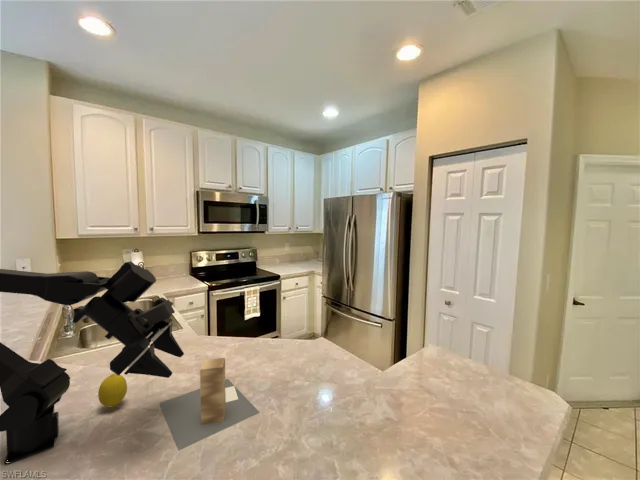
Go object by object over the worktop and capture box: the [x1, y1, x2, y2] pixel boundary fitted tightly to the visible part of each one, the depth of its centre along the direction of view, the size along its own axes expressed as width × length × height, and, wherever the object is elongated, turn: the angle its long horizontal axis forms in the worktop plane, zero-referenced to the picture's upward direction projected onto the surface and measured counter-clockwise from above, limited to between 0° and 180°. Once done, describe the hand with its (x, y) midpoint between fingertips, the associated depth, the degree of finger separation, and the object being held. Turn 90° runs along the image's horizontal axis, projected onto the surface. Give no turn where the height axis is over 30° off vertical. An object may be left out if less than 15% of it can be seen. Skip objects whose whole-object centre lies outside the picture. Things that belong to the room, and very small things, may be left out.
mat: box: [158, 378, 260, 451], centre depth 65 cm, size 17×19×1 cm
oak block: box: [199, 357, 226, 425], centre depth 62 cm, size 5×5×12 cm
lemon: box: [97, 373, 128, 408], centre depth 66 cm, size 6×6×8 cm
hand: (177, 364), depth 60 cm, fingers open, 9 cm apart
